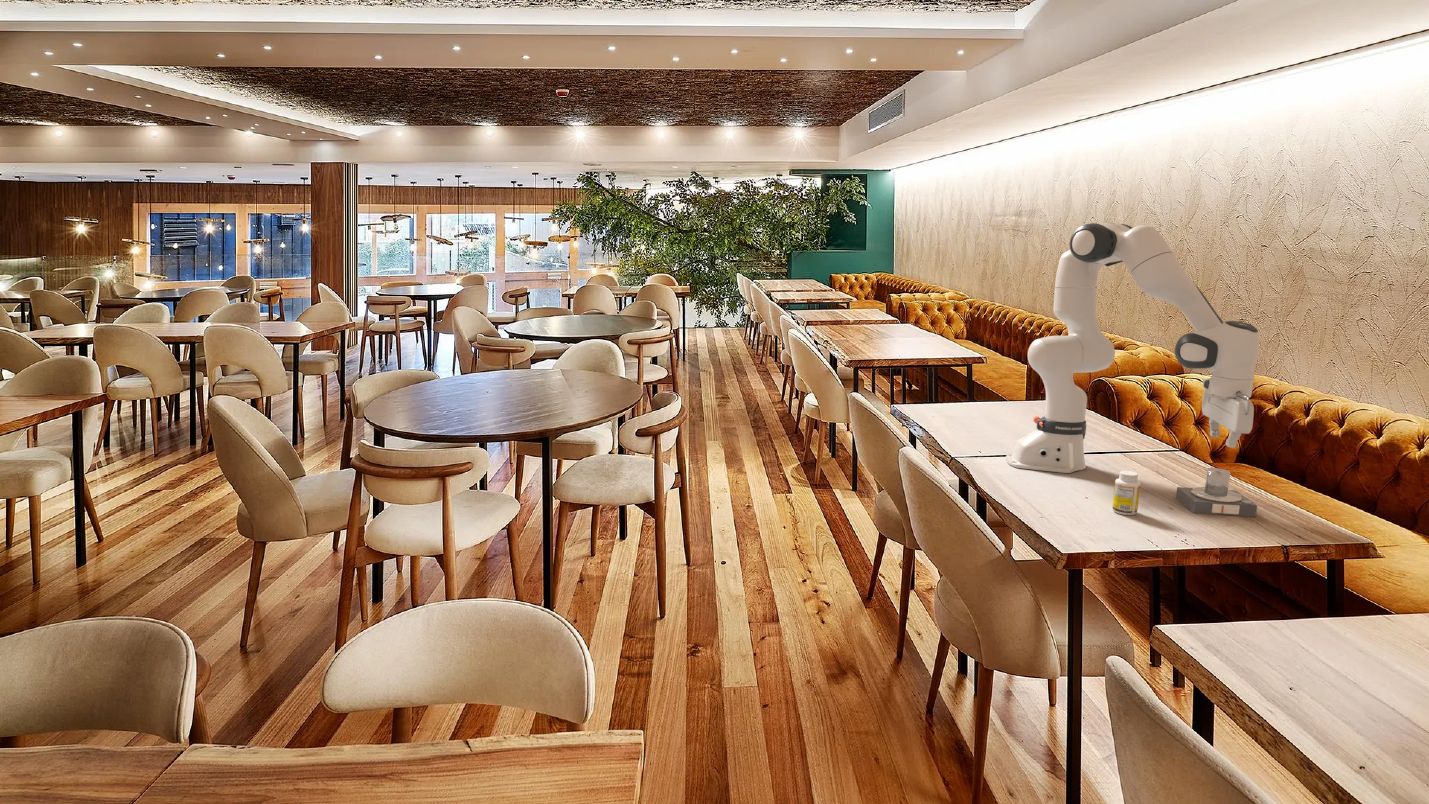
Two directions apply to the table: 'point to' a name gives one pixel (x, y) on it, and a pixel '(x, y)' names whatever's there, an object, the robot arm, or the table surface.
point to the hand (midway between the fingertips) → (1222, 441)
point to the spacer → (1217, 482)
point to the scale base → (1216, 504)
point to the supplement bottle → (1126, 493)
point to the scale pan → (1230, 497)
